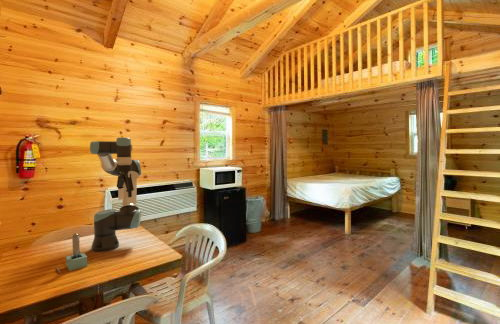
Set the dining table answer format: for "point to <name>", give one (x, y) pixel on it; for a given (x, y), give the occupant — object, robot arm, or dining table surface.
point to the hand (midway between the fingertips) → (125, 201)
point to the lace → (58, 270)
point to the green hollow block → (76, 262)
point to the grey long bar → (76, 246)
